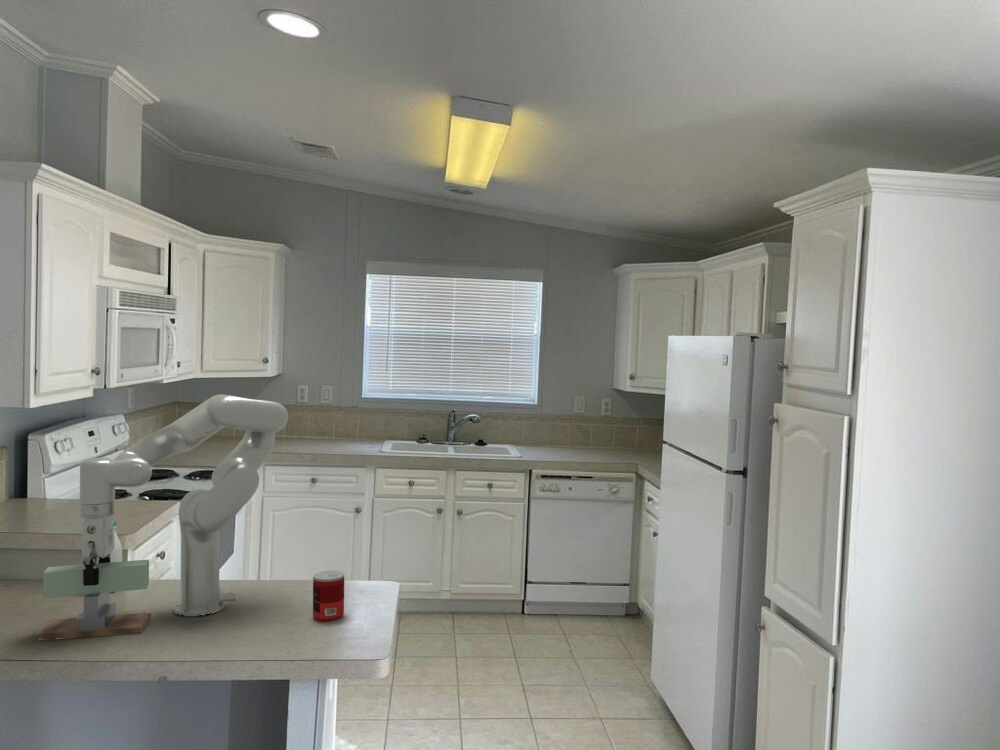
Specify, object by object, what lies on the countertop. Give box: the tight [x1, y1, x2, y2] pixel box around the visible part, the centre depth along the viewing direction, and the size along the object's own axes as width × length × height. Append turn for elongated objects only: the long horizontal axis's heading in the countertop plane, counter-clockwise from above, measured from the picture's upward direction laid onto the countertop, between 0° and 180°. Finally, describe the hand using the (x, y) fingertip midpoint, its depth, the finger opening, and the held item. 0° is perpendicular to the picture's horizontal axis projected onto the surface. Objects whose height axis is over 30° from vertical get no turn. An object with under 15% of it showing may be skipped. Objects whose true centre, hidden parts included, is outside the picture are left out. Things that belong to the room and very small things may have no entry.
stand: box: [38, 592, 152, 640], centre depth 175 cm, size 22×10×10 cm, turn 104°
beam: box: [42, 559, 150, 599], centre depth 175 cm, size 22×5×6 cm, turn 111°
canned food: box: [312, 570, 345, 623], centre depth 186 cm, size 8×8×11 cm
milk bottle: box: [93, 518, 123, 594], centre depth 205 cm, size 8×8×20 cm
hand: (97, 579), depth 175 cm, fingers open, 9 cm apart
